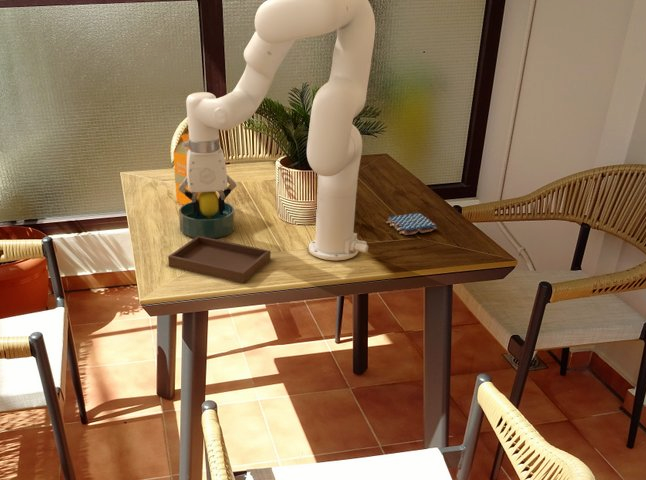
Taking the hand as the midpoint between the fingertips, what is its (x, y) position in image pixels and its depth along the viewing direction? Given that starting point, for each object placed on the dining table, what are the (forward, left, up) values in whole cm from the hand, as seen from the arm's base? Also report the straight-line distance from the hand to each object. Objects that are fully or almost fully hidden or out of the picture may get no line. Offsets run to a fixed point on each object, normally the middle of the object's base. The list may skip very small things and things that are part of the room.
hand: (209, 213), depth 194 cm
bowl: (+1, 0, -5) cm, 5 cm away
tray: (-13, +17, -5) cm, 22 cm away
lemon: (0, 0, -1) cm, 1 cm away
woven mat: (-48, -26, -5) cm, 55 cm away
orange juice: (+14, -16, -5) cm, 22 cm away
